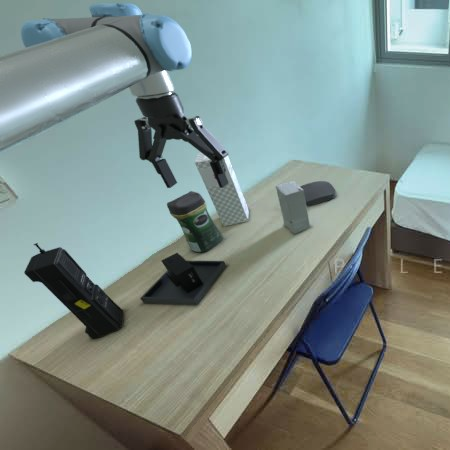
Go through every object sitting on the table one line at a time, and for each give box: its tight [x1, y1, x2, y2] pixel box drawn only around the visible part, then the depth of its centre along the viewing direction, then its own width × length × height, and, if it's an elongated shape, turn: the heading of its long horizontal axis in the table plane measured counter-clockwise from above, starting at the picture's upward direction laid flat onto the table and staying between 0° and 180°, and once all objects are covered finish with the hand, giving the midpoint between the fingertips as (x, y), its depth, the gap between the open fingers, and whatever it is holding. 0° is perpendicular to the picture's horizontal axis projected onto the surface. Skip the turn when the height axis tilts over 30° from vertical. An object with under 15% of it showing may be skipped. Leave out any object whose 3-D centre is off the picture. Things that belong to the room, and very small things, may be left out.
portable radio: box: [24, 242, 124, 340], centre depth 70 cm, size 8×6×25 cm
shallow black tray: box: [139, 259, 227, 306], centre depth 88 cm, size 15×15×2 cm
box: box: [194, 152, 250, 227], centre depth 109 cm, size 8×8×25 cm
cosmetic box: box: [275, 180, 311, 235], centre depth 106 cm, size 8×7×16 cm
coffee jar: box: [166, 190, 223, 253], centre depth 98 cm, size 10×8×19 cm
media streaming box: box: [299, 180, 337, 206], centre depth 128 cm, size 15×15×3 cm
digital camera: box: [161, 252, 203, 293], centre depth 86 cm, size 10×5×7 cm, turn 53°
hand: (198, 185), depth 76 cm, fingers open, 13 cm apart
